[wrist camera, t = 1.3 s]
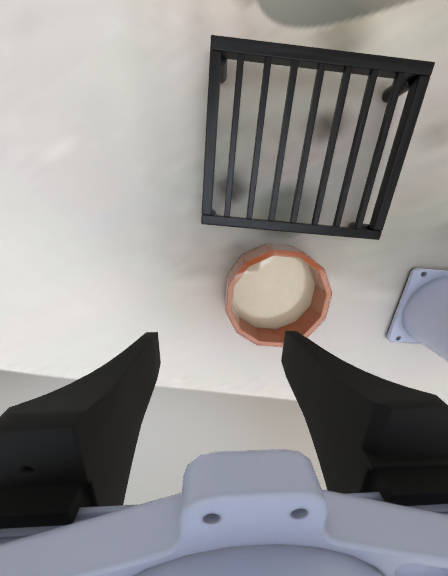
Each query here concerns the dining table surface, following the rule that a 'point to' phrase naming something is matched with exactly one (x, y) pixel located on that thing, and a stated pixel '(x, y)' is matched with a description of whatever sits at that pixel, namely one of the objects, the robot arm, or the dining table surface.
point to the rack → (405, 78)
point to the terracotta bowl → (276, 294)
